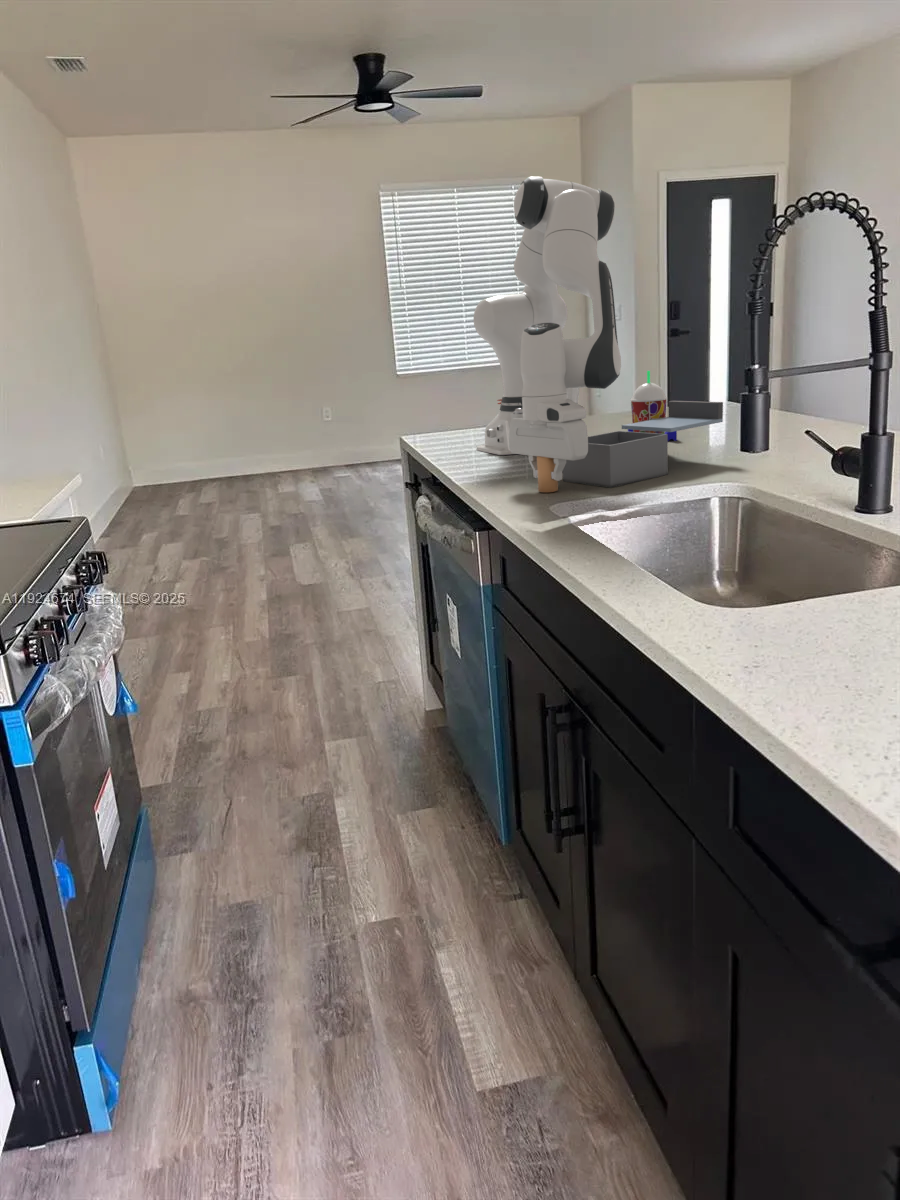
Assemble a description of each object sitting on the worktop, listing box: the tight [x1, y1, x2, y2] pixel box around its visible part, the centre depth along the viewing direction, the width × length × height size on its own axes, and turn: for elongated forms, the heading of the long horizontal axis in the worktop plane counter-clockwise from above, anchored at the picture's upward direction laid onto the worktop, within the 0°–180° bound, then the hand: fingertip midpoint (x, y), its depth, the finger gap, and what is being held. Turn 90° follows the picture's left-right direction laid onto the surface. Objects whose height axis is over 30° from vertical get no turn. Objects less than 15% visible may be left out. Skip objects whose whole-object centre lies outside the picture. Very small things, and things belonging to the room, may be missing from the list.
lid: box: [621, 400, 724, 432], centre depth 191 cm, size 14×17×4 cm
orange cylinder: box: [537, 456, 559, 493], centre depth 175 cm, size 4×4×7 cm
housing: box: [562, 430, 669, 489], centre depth 184 cm, size 14×17×8 cm
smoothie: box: [630, 370, 668, 434], centre depth 206 cm, size 8×8×20 cm
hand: (547, 478), depth 175 cm, fingers closed on orange cylinder, 4 cm apart
